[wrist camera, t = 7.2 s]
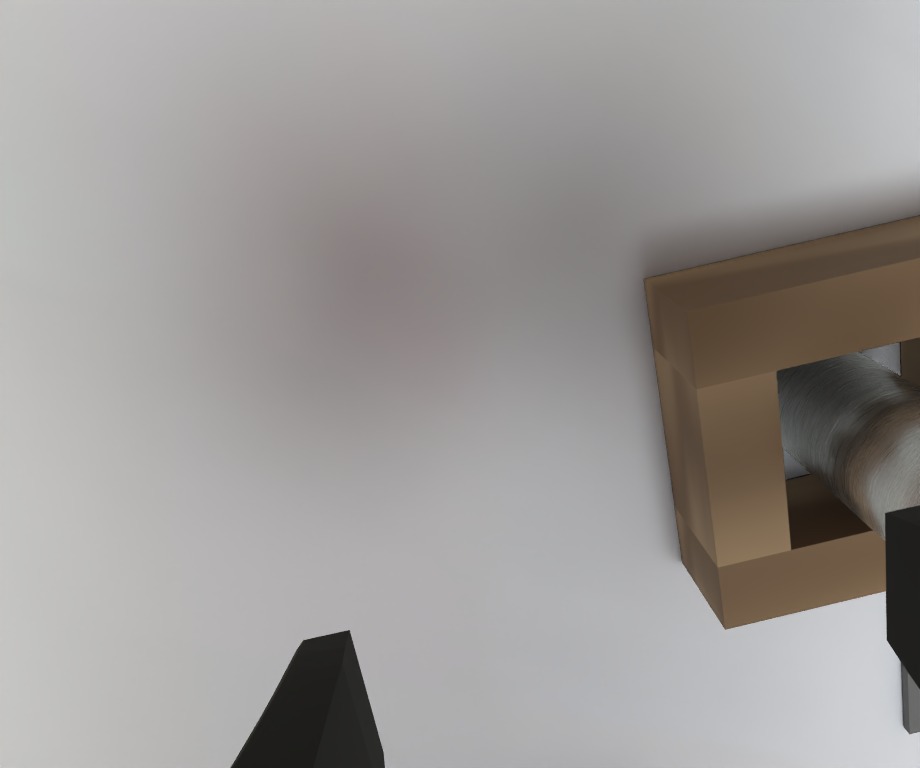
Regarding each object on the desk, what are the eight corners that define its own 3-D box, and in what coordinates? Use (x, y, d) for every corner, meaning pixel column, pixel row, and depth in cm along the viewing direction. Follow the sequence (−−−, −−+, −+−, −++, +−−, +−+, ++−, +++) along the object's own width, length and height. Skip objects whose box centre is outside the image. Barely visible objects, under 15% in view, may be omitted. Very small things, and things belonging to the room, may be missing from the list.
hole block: (967, 495, 24) (1048, 551, 21) (682, 562, 24) (725, 629, 21) (967, 205, 21) (1060, 225, 18) (643, 279, 21) (687, 311, 18)
